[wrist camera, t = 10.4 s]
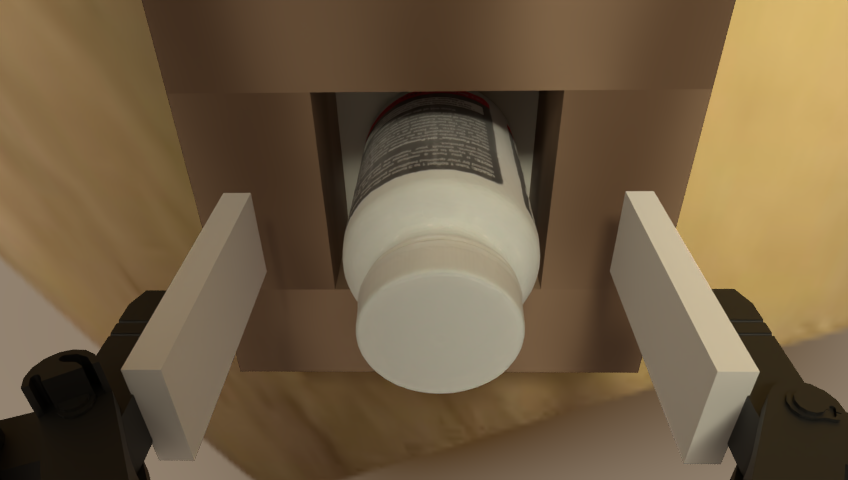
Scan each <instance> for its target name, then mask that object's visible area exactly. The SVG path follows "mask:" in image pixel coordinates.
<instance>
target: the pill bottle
mask: <svg viewBox="0 0 848 480" xmlns="http://www.w3.org/2000/svg"><path fill="white" fill-rule="evenodd" d="M539 266H540V246H539V237H538V233H537V229H536V225H535V221H534V217H533V213H532V209H531V205H530V201H529V197H528V193H527V189H526V185H525V181H524V175H523V172H522V168H521V164H520V160H519V157H518V152H517V148H516V144H515V140H514V138H513V134H512V131H511V128H510V126H509V124H508V122H507V120H506V118H505V117H504V115H503V114H502V112H501V111H500V109H499V108H498V107H497V106H496V105H495V104H494V103H493V102H492V101H491V100H489V99H488V98H487V97H485V96H484V95H482V94H481V93H479V92H477V91H424V92H401V93H399V94H398V95H396V96H395V97H394V98H392V99H391V100H390V101H389V102H387V103H386V104H385V105H384V106H383V108H382V109H381V110H380V111H379V112H378V114H377V115H376V117H375V119H374V120H373V122H372V125H371V127H370V129H369V132H368V135H367V139H366V142H365V147H364V151H363V155H362V160H361V165H360V170H359V174H358V179H357V184H356V188H355V191H354V196H353V200H352V206H351V210H350V214H349V219H348V222H347V226H346V230H345V235H344V243H343V268H344V274H345V278H346V281H347V284H348V286H349V288H350V290H351V292H352V294H353V296H354V297H355V299H356V301H357V302H358V311H357V320H356V338H357V343H358V347H359V349H360V351H361V354H362V356H363V357H364V359H365V360H366V361H367V363H368V364H369V365H370V366H371V367H372V368H373V369H374V370H375V371H376V372H377V373H378V374H379V375H381V376H382V377H383V378H385V379H386V380H388V381H390V382H392V383H394V384H395V385H398V386H401V387H404V388H406V389H409V390H414V391H418V392H424V393H434V394H444V393H456V392H461V391H466V390H469V389H473V388H476V387H479V386H481V385H484V384H486V383H488V382H490V381H491V380H493V379H495V378H497V377H498V376H499V375H501V374H502V373H503V372H504V371H505V370H506V369H508V368H509V366H510V365H511V364H512V363H513V362H514V360H515V359H516V357H517V356H518V354H519V352H520V350H521V347H522V344H523V340H524V336H525V321H524V313H523V304H524V302H525V301H526V299H527V298H528V296H529V295H530V293H531V291H532V289H533V287H534V284H535V282H536V279H537V276H538V271H539Z"/></svg>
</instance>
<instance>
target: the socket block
mask: <svg viewBox="0 0 848 480" xmlns="http://www.w3.org/2000/svg"><path fill="white" fill-rule="evenodd" d="M735 1H736V0H142V3H143V7H144V10H145V14H146V18H147V22H148V25H149V29H150V33H151V37H152V40H153V44H154V48H155V52H156V55H157V59H158V63H159V67H160V70H161V74H162V78H163V82H164V85H165V89H166V93H167V97H168V100H169V104H170V108H171V112H172V115H173V119H174V123H175V127H176V130H177V134H178V138H179V142H180V145H181V149H182V153H183V157H184V160H185V164H186V168H187V172H188V175H189V179H190V183H191V187H192V190H193V194H194V198H195V202H196V205H197V209H198V213H199V217H200V220H201V224H202V228H203V227H204V226H205V224H206V222H207V220H208V219H209V217H210V215H211V213H212V212H213V210H214V208H215V207H216V205H217V203H218V201H219V200H220V198H221V196H222V195H223V193H251V197H252V202H253V207H254V212H255V217H256V221H257V226H258V231H259V236H260V241H261V246H262V251H263V256H264V260H265V265H266V270H267V272H266V275H265V278H264V280H263V283H262V285H261V288H260V291H259V293H258V296H257V298H256V301H255V304H254V306H253V309H252V312H251V314H250V317H249V319H248V322H247V325H246V327H245V330H244V332H243V335H242V338H241V340H240V343H239V346H238V348H237V351H236V356H237V359H238V363H239V367H240V371H303V372H376V371H375V370H374V369H373V368H372V367H371V366H370V365H369V364H368V363H367V361H366V360H365V359H364V357H363V356H362V354H361V351H360V349H359V347H358V343H357V338H356V320H357V311H358V302H357V301H356V299H355V297H354V296H353V294H352V292H351V290H350V288H349V286H348V284H347V281H346V278H345V274H344V268H343V243H344V235H345V230H346V226H347V222H348V219H349V214H350V210H351V206H352V200H353V196H354V191H355V188H356V184H357V179H358V174H359V170H360V165H361V160H362V155H363V151H364V147H365V142H366V139H367V135H368V132H369V129H370V127H371V125H372V122H373V120H374V119H375V117H376V115H377V114H378V112H379V111H380V110H381V109H382V108H383V106H384V105H385V104H386V103H387V102H389V101H390V100H391V99H392V98H394V97H395V96H396V95H398V94H399V93H401V92H424V91H477V92H479V93H481V94H482V95H484V96H485V97H487V98H488V99H489V100H491V101H492V102H493V103H494V104H495V105H496V106H497V107H498V108H499V109H500V111H501V112H502V114H503V115H504V117H505V118H506V120H507V122H508V124H509V126H510V128H511V131H512V134H513V138H514V140H515V144H516V148H517V152H518V157H519V160H520V164H521V168H522V172H523V175H524V181H525V185H526V189H527V193H528V197H529V201H530V205H531V209H532V213H533V217H534V221H535V225H536V229H537V233H538V237H539V246H540V266H539V271H538V276H537V279H536V282H535V284H534V287H533V289H532V291H531V293H530V295H529V296H528V298H527V299H526V301H525V302H524V304H523V313H524V321H525V336H524V340H523V344H522V347H521V350H520V352H519V354H518V356H517V357H516V359H515V360H514V362H513V363H512V364H511V365H510V366H509V368H508V369H506V370H505V371H504V372H627V373H638V371H639V367H640V363H641V359H642V354H641V351H640V349H639V346H638V343H637V341H636V338H635V336H634V333H633V330H632V328H631V325H630V323H629V320H628V317H627V315H626V312H625V309H624V307H623V304H622V302H621V299H620V296H619V294H618V291H617V289H616V286H615V283H614V281H613V278H612V276H611V273H610V268H611V263H612V258H613V253H614V248H615V243H616V238H617V233H618V227H619V222H620V217H621V212H622V207H623V202H624V197H625V192H626V191H654V192H655V194H656V196H657V197H658V199H659V201H660V203H661V204H662V206H663V208H664V209H665V211H666V213H667V214H668V216H669V218H670V220H671V221H672V223H673V225H674V226H675V228H676V226H677V222H678V218H679V214H680V211H681V207H682V203H683V199H684V195H685V192H686V188H687V184H688V180H689V176H690V172H691V169H692V165H693V161H694V157H695V153H696V150H697V146H698V142H699V138H700V134H701V131H702V127H703V123H704V119H705V115H706V111H707V108H708V104H709V100H710V96H711V92H712V89H713V85H714V81H715V77H716V73H717V70H718V66H719V62H720V58H721V54H722V50H723V47H724V43H725V39H726V35H727V31H728V28H729V24H730V20H731V16H732V12H733V9H734V5H735Z"/></svg>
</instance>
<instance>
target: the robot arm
mask: <svg viewBox="0 0 848 480" xmlns="http://www.w3.org/2000/svg"><path fill="white" fill-rule="evenodd" d="M266 272H267V270H266V265H265V260H264V256H263V251H262V246H261V241H260V236H259V231H258V226H257V221H256V217H255V212H254V207H253V202H252V197H251V193H223V195H222V196H221V198H220V200H219V201H218V203H217V205H216V207H215V208H214V210H213V212H212V213H211V215H210V217H209V219H208V220H207V222H206V224H205V226H204V227H203V229H202V231H201V232H200V234H199V236H198V238H197V239H196V241H195V243H194V244H193V246H192V248H191V250H190V251H189V253H188V255H187V257H186V258H185V260H184V262H183V263H182V265H181V267H180V269H179V270H178V272H177V274H176V275H175V277H174V279H173V281H172V282H171V284H170V286H169V287H168V289H167V291H145V292H144V293H143V294H142V295H140V296H139V297H138V298H137V299H135V300H134V301H133V302H132V303H130V304H129V305H128V307H127V309H126V310H125V312H124V313H123V315H122V316H121V318H120V319H119V323H117V324H116V326H115V327H114V329H113V330H112V332H111V336H109V337H108V338H107V340H106V341H105V343H104V344H103V346H102V347H101V349H100V351H99V352H98V354H97V355H95V354H93V353H91V352H89V351H87V350H69V351H64V352H60V353H57V354H55V355H52V356H50V357H48V358H46V359H44V360H42V361H41V362H40V363H38V364H37V365H36V366H34V367H33V368H32V369H31V370H30V371H29V372H28V373H27V375H26V376H25V377H24V379H23V382H22V386H21V389H22V391H23V393H24V394H25V396H26V398H27V400H28V402H29V403H30V405H31V407H32V409H33V410H34V412H32V413H29V414H24V415H20V416H16V417H12V418H8V419H4V420H0V480H150V477H149V472H148V470H147V467H146V465H145V463H144V460H145V457H146V456H147V453H148V451H149V449H150V447H151V445H152V444H153V447H154V449H155V452H156V454H157V456H158V459H159V460H195V458H196V455H197V453H198V450H199V448H200V445H201V442H202V440H203V437H204V434H205V432H206V429H207V427H208V424H209V421H210V419H211V416H212V414H213V411H214V408H215V406H216V403H217V400H218V398H219V395H220V393H221V390H222V387H223V385H224V382H225V380H226V377H227V374H228V372H229V369H230V366H231V364H232V361H233V359H234V356H235V353H236V351H237V348H238V346H239V343H240V340H241V338H242V335H243V332H244V330H245V327H246V325H247V322H248V319H249V317H250V314H251V312H252V309H253V306H254V304H255V301H256V298H257V296H258V293H259V291H260V288H261V285H262V283H263V280H264V278H265V275H266ZM610 273H611V276H612V278H613V281H614V283H615V286H616V289H617V291H618V294H619V296H620V299H621V302H622V304H623V307H624V309H625V312H626V315H627V317H628V320H629V323H630V325H631V328H632V330H633V333H634V336H635V338H636V341H637V343H638V346H639V349H640V351H641V354H642V356H643V359H644V362H645V364H646V367H647V369H648V372H649V375H650V377H651V380H652V382H653V385H654V388H655V390H656V393H657V395H658V398H659V401H660V403H661V406H662V409H663V411H664V414H665V416H666V419H667V422H668V424H669V427H670V429H671V432H672V434H673V437H674V440H675V442H676V445H677V447H678V450H679V453H680V455H681V458H682V461H683V463H684V464H721V462H722V460H723V457H724V455H725V453H726V450H727V448H728V446H729V448H730V450H731V452H732V454H733V457H734V459H735V461H736V463H737V465H736V468H735V470H734V472H733V474H732V477H731V479H730V480H848V413H847V412H845V410H844V409H843V408H842V406H841V405H840V404H839V402H838V401H837V400H836V399H834V398H833V397H832V396H831V395H829V394H828V393H827V392H825V391H824V390H821V389H819V388H817V387H815V386H813V385H811V384H807V383H804V381H803V380H802V378H801V377H800V375H799V374H798V372H797V371H796V369H795V368H794V366H793V364H792V363H791V361H790V360H789V358H788V357H787V355H786V354H785V352H784V351H783V349H782V348H781V346H780V345H779V343H778V342H777V340H776V339H775V337H774V336H772V332H771V331H770V329H769V328H768V326H767V325H766V323H763V319H762V317H761V316H760V314H759V313H758V311H757V310H756V308H755V306H754V305H753V303H751V302H750V301H749V300H748V299H746V298H745V297H744V296H742V295H741V294H740V293H739V292H737V291H736V290H735V289H711V288H710V286H709V284H708V283H707V281H706V279H705V277H704V276H703V274H702V272H701V271H700V269H699V267H698V266H697V264H696V262H695V260H694V259H693V257H692V255H691V254H690V252H689V250H688V248H687V247H686V245H685V243H684V242H683V240H682V238H681V237H680V235H679V233H678V231H677V230H676V228H675V226H674V225H673V223H672V221H671V220H670V218H669V216H668V214H667V213H666V211H665V209H664V208H663V206H662V204H661V203H660V201H659V199H658V197H657V196H656V194H655V192H654V191H626V192H625V197H624V202H623V207H622V212H621V217H620V222H619V227H618V233H617V238H616V243H615V248H614V253H613V258H612V263H611V268H610Z"/></svg>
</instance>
